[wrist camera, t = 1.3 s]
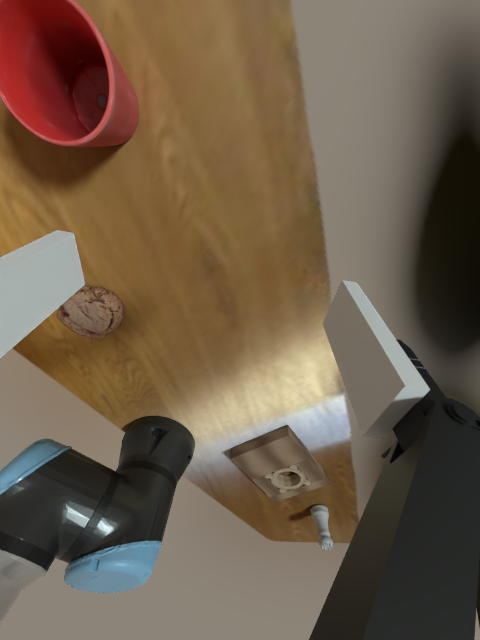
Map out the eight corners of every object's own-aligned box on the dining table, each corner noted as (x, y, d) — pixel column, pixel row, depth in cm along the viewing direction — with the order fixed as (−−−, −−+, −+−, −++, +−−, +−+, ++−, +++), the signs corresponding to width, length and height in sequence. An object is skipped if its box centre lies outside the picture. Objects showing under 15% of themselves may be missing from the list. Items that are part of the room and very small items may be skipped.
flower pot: (77, 17, 27) (-8, -68, 18) (168, 91, 29) (132, 48, 21) (49, 120, 31) (-30, 91, 22) (131, 178, 34) (88, 172, 25)
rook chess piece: (330, 510, 65) (340, 550, 58) (314, 515, 66) (321, 554, 59) (323, 501, 63) (332, 541, 56) (306, 506, 64) (313, 545, 57)
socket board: (273, 491, 62) (274, 502, 60) (231, 448, 56) (230, 458, 54) (326, 472, 58) (329, 484, 56) (287, 424, 52) (288, 435, 50)
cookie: (137, 323, 44) (129, 331, 41) (86, 340, 46) (76, 350, 43) (103, 269, 40) (92, 275, 37) (50, 291, 42) (36, 298, 39)
